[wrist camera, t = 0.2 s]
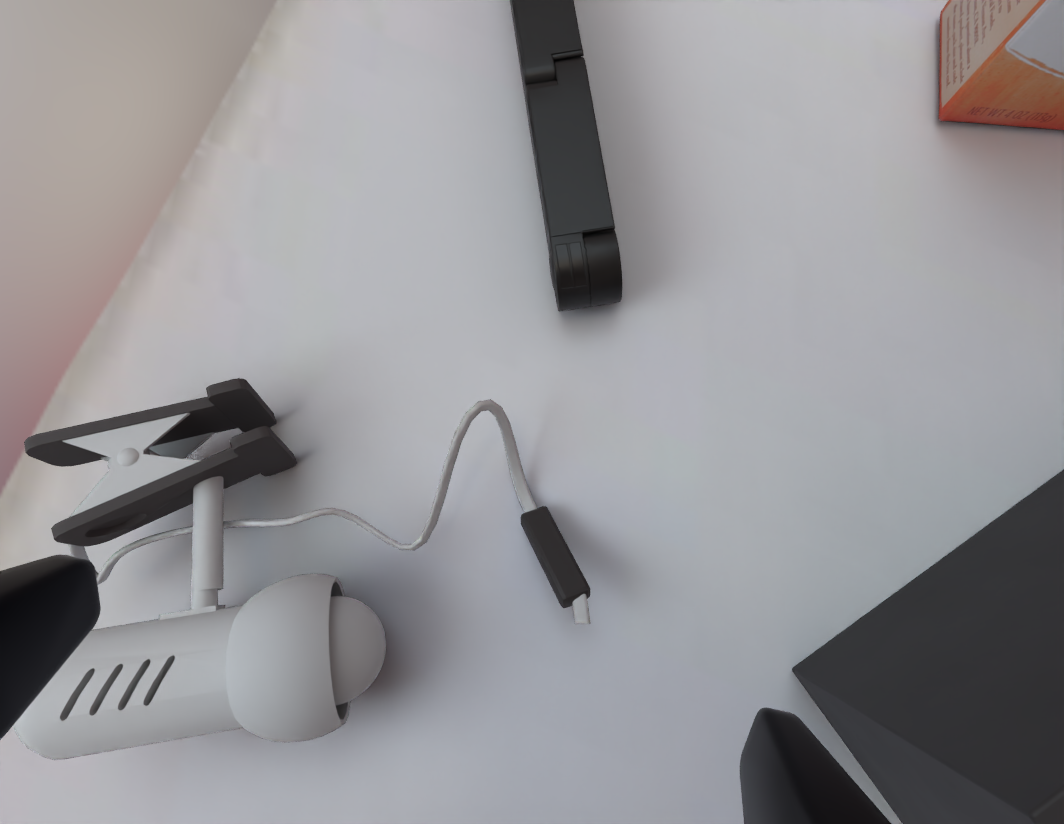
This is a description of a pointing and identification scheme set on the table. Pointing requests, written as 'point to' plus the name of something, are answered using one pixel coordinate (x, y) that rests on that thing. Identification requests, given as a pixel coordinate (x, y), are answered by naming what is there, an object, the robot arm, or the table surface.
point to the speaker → (962, 678)
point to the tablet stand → (567, 155)
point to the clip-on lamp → (208, 628)
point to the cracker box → (1002, 62)
